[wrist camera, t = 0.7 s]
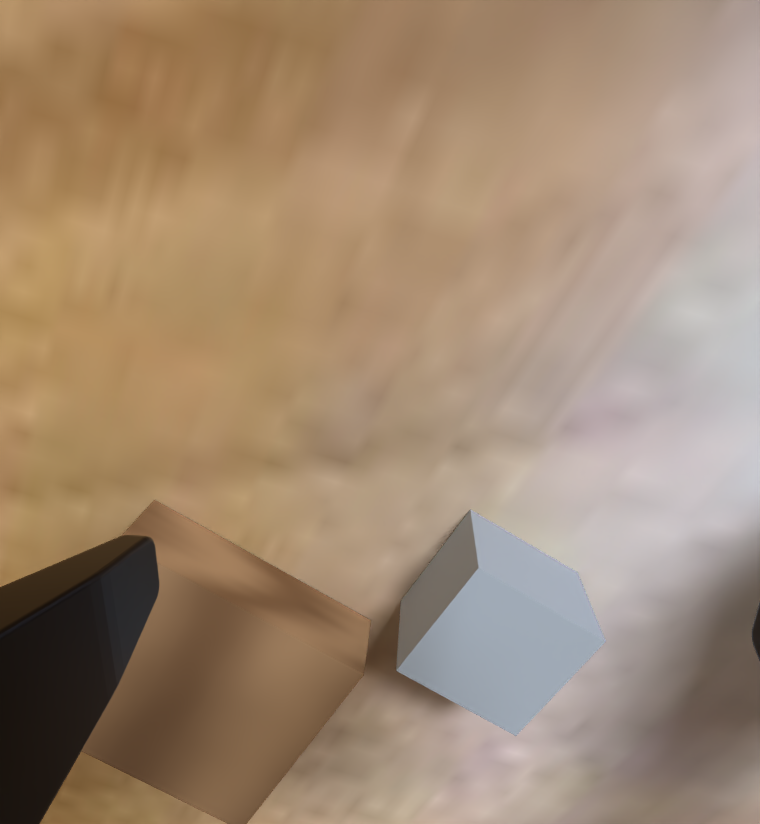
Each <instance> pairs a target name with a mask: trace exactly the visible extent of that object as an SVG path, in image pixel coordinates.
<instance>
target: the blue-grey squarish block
mask: <svg viewBox="0 0 760 824" xmlns="http://www.w3.org/2000/svg"><path fill="white" fill-rule="evenodd" d="M605 642H606V640H605V638H604V635H603V633H602V630H601V628H600V626H599V623H598V621H597V618H596V616H595V613H594V611H593V608H592V606H591V604H590V601H589V599H588V596H587V594H586V591H585V589H584V586H583V584H582V582H581V579H580V577H579V574H578V572H576V571H574V570H573V569H571V568H569V567H568V566H566V565H564V564H562V563H561V562H559V561H557V560H556V559H554V558H552V557H551V556H549V555H547V554H545V553H544V552H542V551H540V550H539V549H537V548H535V547H534V546H532V545H530V544H528V543H527V542H525V541H523V540H522V539H520V538H518V537H517V536H515V535H513V534H511V533H510V532H508V531H506V530H505V529H503V528H501V527H500V526H498V525H496V524H494V523H493V522H491V521H489V520H488V519H486V518H484V517H483V516H481V515H479V514H477V513H476V512H474V511H472V510H471V509H470V511H469V512H468V513H467V515H466V516H465V517H464V518H463V520H462V521H461V522H460V524H459V525H458V526H457V528H456V529H455V530H454V532H453V533H452V534H451V536H450V537H449V538H448V539H447V541H446V542H445V543H444V545H443V546H442V547H441V549H440V550H439V551H438V553H437V554H436V555H435V556H434V558H433V559H432V560H431V562H430V563H429V564H428V566H427V567H426V568H425V570H424V571H423V572H422V574H421V575H420V576H419V577H418V579H417V580H416V581H415V583H414V584H413V585H412V587H411V588H410V589H409V591H408V592H407V593H406V595H405V596H404V597H403V598H402V600H401V605H400V621H399V636H398V651H397V666H396V671H397V672H399V673H401V674H403V675H405V676H407V677H408V678H410V679H412V680H414V681H416V682H418V683H419V684H421V685H423V686H425V687H427V688H429V689H430V690H432V691H434V692H436V693H438V694H440V695H441V696H443V697H445V698H447V699H449V700H451V701H453V702H454V703H456V704H458V705H460V706H462V707H464V708H465V709H467V710H469V711H471V712H473V713H475V714H476V715H478V716H480V717H482V718H484V719H486V720H487V721H489V722H491V723H493V724H495V725H497V726H498V727H500V728H502V729H504V730H506V731H508V732H509V733H511V734H513V735H515V736H517V734H518V733H519V732H520V731H521V730H522V729H523V728H524V727H525V726H526V725H527V724H528V723H529V722H530V721H531V720H532V719H533V718H534V717H535V715H536V714H537V713H538V712H539V711H540V710H541V709H542V708H543V707H544V706H545V705H546V704H547V703H548V702H549V701H550V700H551V699H552V698H553V697H554V695H555V694H556V693H557V692H558V691H559V690H560V689H561V688H562V687H563V686H564V685H565V684H566V683H567V682H568V681H569V680H570V679H571V678H572V676H573V675H574V674H575V673H576V672H577V671H578V670H579V669H580V668H581V667H582V666H583V665H584V664H585V663H586V662H587V661H588V660H589V659H590V658H591V656H592V655H593V654H594V653H595V652H596V651H597V650H598V649H599V648H600V647H601V646H602V645H603V644H604V643H605Z"/></svg>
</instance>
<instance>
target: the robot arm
mask: <svg viewBox="0 0 760 824" xmlns="http://www.w3.org/2000/svg"><path fill="white" fill-rule="evenodd" d="M158 593H159V573H158V565H157V556H156V547H155V543H154V541H153V539H152V538H151V537H149V536H141V535H123V536H120V537H118V538H116V539H113V540H111V541H109V542H106V543H104V544H101V545H99V546H97V547H94V548H92V549H90V550H87V551H85V552H83V553H80V554H78V555H75V556H73V557H71V558H68V559H66V560H64V561H61V562H59V563H57V564H54V565H52V566H49V567H47V568H45V569H42V570H40V571H38V572H35V573H33V574H30V575H28V576H26V577H23V578H21V579H19V580H16V581H14V582H12V583H9V584H7V585H4V586H2V587H0V824H40V822H41V820H42V819H43V817H44V815H45V813H46V812H47V810H48V808H49V806H50V805H51V803H52V801H53V799H54V798H55V796H56V794H57V792H58V791H59V789H60V787H61V785H62V784H63V782H64V780H65V779H66V777H67V775H68V773H69V772H70V770H71V768H72V766H73V765H74V763H75V761H76V759H77V758H78V756H79V754H80V752H81V751H82V749H83V747H84V745H85V744H86V742H87V740H88V738H89V737H90V735H91V733H92V731H93V730H94V728H95V726H96V724H97V723H98V721H99V719H100V717H101V716H102V714H103V712H104V710H105V709H106V707H107V705H108V703H109V701H110V700H111V698H112V696H113V694H114V692H115V690H116V689H117V687H118V685H119V683H120V680H121V678H122V676H123V674H124V672H125V670H126V667H127V665H128V663H129V661H130V658H131V656H132V654H133V652H134V649H135V647H136V645H137V642H138V640H139V638H140V636H141V633H142V631H143V629H144V626H145V624H146V622H147V620H148V617H149V615H150V613H151V611H152V608H153V606H154V604H155V601H156V599H157V596H158ZM752 640H753V645H754V648H755V650H756V653H757V655H758V658H759V660H760V603H759V606H758V610H757V613H756V617H755V621H754V624H753V628H752Z"/></svg>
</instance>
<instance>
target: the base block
mask: <svg viewBox="0 0 760 824" xmlns="http://www.w3.org/2000/svg"><path fill="white" fill-rule="evenodd" d="M123 535H141V536H149V537H151V538H152V539H153V541H154V543H155V547H156V556H157V565H158V573H159V593H158V596H157V599H156V601H155V604H154V606H153V608H152V611H151V613H150V615H149V617H148V620H147V622H146V624H145V626H144V629H143V631H142V633H141V636H140V638H139V640H138V642H137V645H136V647H135V649H134V652H133V654H132V656H131V658H130V661H129V663H128V665H127V667H126V670H125V672H124V674H123V676H122V678H121V680H120V683H119V685H118V687H117V689H116V690H115V692H114V694H113V696H112V698H111V700H110V701H109V703H108V705H107V707H106V709H105V710H104V712H103V714H102V716H101V717H100V719H99V721H98V723H97V724H96V726H95V728H94V730H93V731H92V733H91V735H90V737H89V738H88V740H87V742H86V744H85V745H84V747H83V749H82V752H84V753H86V754H88V755H90V756H92V757H94V758H96V759H98V760H100V761H102V762H104V763H106V764H108V765H110V766H112V767H114V768H116V769H118V770H120V771H123V772H125V773H127V774H129V775H131V776H133V777H135V778H137V779H139V780H141V781H143V782H145V783H147V784H149V785H151V786H153V787H155V788H157V789H159V790H161V791H163V792H165V793H167V794H169V795H171V796H173V797H175V798H177V799H179V800H181V801H183V802H185V803H187V804H189V805H191V806H193V807H195V808H197V809H199V810H201V811H203V812H205V813H207V814H209V815H211V816H213V817H216V818H218V819H220V820H222V821H224V822H226V823H228V824H247V823H248V821H249V820H250V819H251V817H252V816H253V815H254V814H255V812H256V811H257V810H258V809H259V807H260V806H261V805H262V803H263V802H264V801H265V800H266V798H267V797H268V796H269V795H270V793H271V792H272V791H273V789H274V788H275V787H276V786H277V784H278V783H279V782H280V781H281V779H282V778H283V777H284V775H285V774H286V773H287V772H288V770H289V769H290V768H291V767H292V765H293V764H294V763H295V762H296V760H297V759H298V758H299V756H300V755H301V754H302V753H303V751H304V750H305V749H306V748H307V746H308V745H309V744H310V742H311V741H312V740H313V739H314V737H315V736H316V735H317V734H318V732H319V731H320V730H321V728H322V727H323V726H324V725H325V723H326V722H327V721H328V720H329V718H330V717H331V716H332V714H333V713H334V712H335V711H336V709H337V708H338V707H339V706H340V704H341V703H342V702H343V701H344V699H345V698H346V697H347V695H348V694H349V693H350V692H351V690H352V689H353V688H354V687H355V685H356V684H357V683H358V681H359V680H360V679H361V678H362V676H363V675H364V670H365V662H366V655H367V647H368V640H369V632H370V624H371V620H369V619H367V618H366V617H364V616H362V615H360V614H358V613H357V612H355V611H353V610H351V609H349V608H348V607H346V606H344V605H342V604H340V603H339V602H337V601H335V600H333V599H332V598H330V597H328V596H326V595H324V594H323V593H321V592H319V591H317V590H315V589H314V588H312V587H310V586H308V585H306V584H305V583H303V582H301V581H299V580H297V579H296V578H294V577H292V576H290V575H288V574H287V573H285V572H283V571H281V570H279V569H278V568H276V567H274V566H272V565H270V564H269V563H267V562H265V561H263V560H261V559H260V558H258V557H256V556H254V555H252V554H251V553H249V552H247V551H245V550H243V549H242V548H240V547H238V546H236V545H234V544H233V543H231V542H229V541H227V540H225V539H224V538H222V537H220V536H218V535H216V534H215V533H213V532H211V531H209V530H207V529H206V528H204V527H202V526H200V525H198V524H197V523H195V522H193V521H191V520H189V519H188V518H186V517H184V516H182V515H180V514H179V513H177V512H175V511H173V510H171V509H170V508H168V507H166V506H164V505H163V504H161V503H159V502H157V501H155V500H154V501H153V502H152V503H151V504H150V505H149V506H148V508H147V509H146V510H145V511H144V512H143V513H142V514H141V515H140V516H139V517H138V518H137V520H136V521H135V522H134V523H133V524H132V525H131V526H130V527H129V528H128V529H127V530H126V532H125V533H124V534H123ZM123 535H122V536H123Z"/></svg>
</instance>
